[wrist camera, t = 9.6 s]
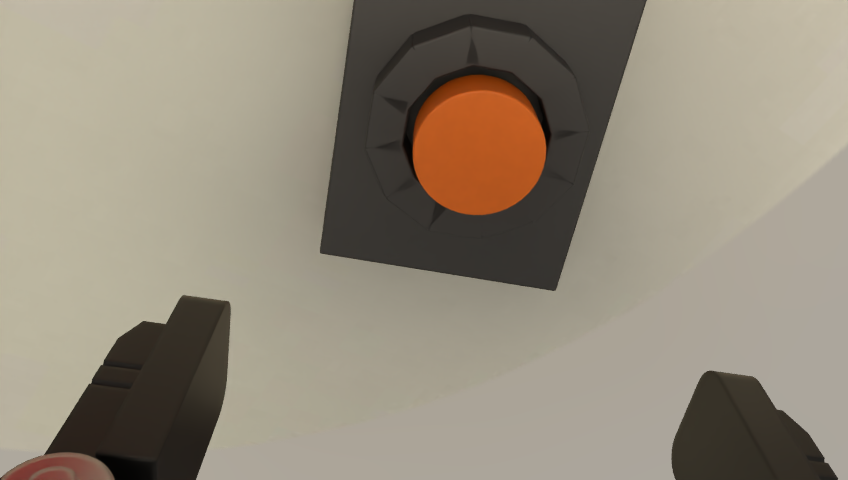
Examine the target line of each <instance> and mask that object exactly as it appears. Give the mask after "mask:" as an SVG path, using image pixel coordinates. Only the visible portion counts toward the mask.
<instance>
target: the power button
mask: <svg viewBox="0 0 848 480" xmlns="http://www.w3.org/2000/svg"><path fill="white" fill-rule="evenodd" d="M545 160H546V141H545V136H544V132H543V130H542V127H541V124H540V122H539V120H538V117H537V115H536V113H535V110H534V108H533V106H532V105H531V103H530V101H529V100H528V99H527V97H526V96H525V95H524V94H523V93H522V92H521V91H520V90H519V89H518V88H517V87H515V86H514V85H512V84H511V83H509V82H507V81H505V80H503V79H500V78H497V77H493V76H489V75H468V76H463V77H459V78H456V79H453V80H451V81H449V82H447V83H445V84H443V85H442V86H440V87H439V88H438V89H436V90H435V91H434V92H433V93H432V94H431V95H430V96H429V97H428V98H427V99H426V101H425V102H424V103H423V105H422V107H421V108H420V110H419V113H418V115H417V117H416V121H415V125H414V132H413V164H414V169H415V172H416V176H417V178H418V180H419V182H420V184H421V185H422V187H423V188H424V190H425V191H426V192H427V193H428V194H429V196H430V197H432V198H433V199H434V200H435V201H436V202H438V203H439V204H441V205H442V206H444V207H446V208H448V209H450V210H453V211H455V212H458V213H463V214H468V215H486V214H492V213H496V212H500V211H502V210H505V209H507V208H509V207H511V206H513V205H515V204H516V203H518V202H519V201H521V200H522V199H523V198H524V197H525V196H526V195H527V194H528V193H529V192H530V191H531V190H532V189H533V187H534V186H535V184H536V183H537V182H538V180H539V178H540V176H541V174H542V171H543V168H544V164H545Z"/></svg>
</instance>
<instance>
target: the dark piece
mask: <svg viewBox="0 0 848 480" xmlns="http://www.w3.org/2000/svg"><path fill="white" fill-rule="evenodd" d="M646 1H647V0H354V4H353V11H352V18H351V26H350V33H349V40H348V48H347V55H346V63H345V70H344V77H343V85H342V92H341V99H340V107H339V114H338V121H337V129H336V136H335V144H334V151H333V158H332V166H331V173H330V180H329V188H328V195H327V202H326V210H325V217H324V224H323V232H322V239H321V247H320V253H322V254H328V255H334V256H340V257H347V258H353V259H359V260H365V261H371V262H378V263H384V264H390V265H396V266H403V267H409V268H415V269H421V270H427V271H434V272H440V273H446V274H452V275H459V276H465V277H471V278H477V279H484V280H490V281H496V282H502V283H508V284H515V285H521V286H527V287H533V288H540V289H546V290H552V291H555V290H556V288H557V285H558V282H559V278H560V275H561V272H562V269H563V266H564V262H565V259H566V256H567V253H568V250H569V246H570V243H571V240H572V237H573V234H574V231H575V227H576V224H577V221H578V218H579V215H580V211H581V208H582V205H583V202H584V199H585V195H586V192H587V189H588V186H589V183H590V179H591V176H592V173H593V170H594V167H595V164H596V160H597V157H598V154H599V151H600V148H601V144H602V141H603V138H604V135H605V132H606V128H607V125H608V122H609V119H610V116H611V112H612V109H613V106H614V103H615V100H616V97H617V93H618V90H619V87H620V84H621V81H622V77H623V74H624V71H625V68H626V65H627V61H628V58H629V55H630V52H631V49H632V45H633V42H634V39H635V36H636V33H637V29H638V26H639V23H640V20H641V17H642V14H643V10H644V7H645V4H646ZM468 75H489V76H493V77H497V78H500V79H503V80H505V81H507V82H509V83H511V84H512V85H514V86H515V87H517V88H518V89H519V90H520V91H521V92H522V93H523V94H524V95H525V96H526V97H527V99H528V100H529V101H530V103H531V105H532V106H533V108H534V110H535V113H536V115H537V117H538V120H539V122H540V124H541V127H542V130H543V132H544V136H545V141H546V160H545V164H544V168H543V171H542V174H541V176H540V178H539V180H538V182H537V183H536V184H535V186H534V187H533V189H532V190H531V191H530V192H529V193H528V194H527V195H526V196H525V197H524V198H523V199H522V200H521V201H519V202H518V203H516V204H515V205H513V206H511V207H509V208H507V209H505V210H502V211H500V212H496V213H492V214H486V215H468V214H463V213H458V212H455V211H453V210H450V209H448V208H446V207H444V206H442V205H441V204H439V203H438V202H436V201H435V200H434V199H433V198H432V197H430V196H429V194H428V193H427V192H426V191H425V190H424V188H423V187H422V185H421V184H420V182H419V180H418V178H417V176H416V172H415V169H414V164H413V132H414V125H415V121H416V117H417V115H418V113H419V110H420V108H421V107H422V105H423V103H424V102H425V101H426V99H427V98H428V97H429V96H430V95H431V94H432V93H433V92H434V91H435V90H436V89H438V88H439V87H440V86H442V85H443V84H445V83H447V82H449V81H451V80H453V79H456V78H459V77H463V76H468Z"/></svg>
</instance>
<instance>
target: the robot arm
mask: <svg viewBox="0 0 848 480" xmlns="http://www.w3.org/2000/svg"><path fill="white" fill-rule="evenodd" d="M230 316H231V307H230V303H229V302H228V301H221V300H214V299H207V298H200V297H193V296H186V295H183V296H182V297H181V298H180V300H179V301H178V303H177V305H176V307H175V309H174V310H173V312H172V314H171V316H170V318H169V319H168V321H167V323H166V324H161V323H153V322H146V321H143V322H141V323H140V324H139V325H137V326H136V327H134V328H133V329H131V330H130V331H128V332H127V333H125V334H124V335H122V336H121V337H119V338H118V339H117V341H116V342H115V344H114V345H113V347H112V349H111V350H110V352H109V353H108V355H107V357H106V358H105V360H104V363H103V365H101V366H100V368H99V369H98V371H97V372H96V374H95V375H94V377H93V379H92V383H91V384H89V385H88V387H87V388H86V390H85V391H84V393H83V394H82V396H81V398H80V399H79V401H78V402H77V404H76V406H75V407H74V409H73V410H72V412H71V413H70V415H69V417H68V418H67V420H66V421H65V423H64V424H63V426H62V428H61V429H60V431H59V432H58V434H57V436H56V437H55V439H54V440H53V442H52V443H51V445H50V447H49V448H48V450H47V451H46V453H45V454H44V455H43V456H39V457H36V458H33V459H30V460H27V461H25V462H23V463H21V464H19V465H17V466H16V467H14V468H13V469H11V470H10V471H8V472H7V473H6V474H5V475H3V476H2V477H1V478H0V480H196V478H197V475H198V472H199V469H200V467H201V464H202V461H203V458H204V456H205V453H206V450H207V448H208V445H209V442H210V440H211V437H212V434H213V431H214V429H215V426H216V423H217V420H218V418H219V415H220V412H221V408H222V404H223V400H224V395H225V389H226V382H227V369H228V351H229V333H230ZM672 468H673V473H674V476H675V479H676V480H838V478H837V476H836V475H835V473H834V472H833V470H832V469H831V467H830V466H829V464H828V463H824V457H823V455H822V454H821V452H820V451H819V449H818V447H817V446H816V444H815V443H814V442H813V440H812V438H811V437H810V435H809V434H808V433H807V432H806V431H805V430H804V429H803V428H801V427H800V426H799V425H798V424H797V423H796V422H795V421H794V420H793V419H791V418H790V417H789V416H788V415H787V414H786V413H785V412H783V411H782V410H777V409H776V408H775V406H774V405H773V403H772V402H771V400H770V398H769V397H768V395H767V394H766V392H765V390H764V389H763V387H762V386H761V384H760V383H759V381H758V380H757V379H756V378H754V377H752V376H745V375H737V374H730V373H723V372H716V371H707V372H706V373H704V374H703V375H702V377H701V378H700V380H699V382H698V384H697V387H696V389H695V391H694V394H693V396H692V399H691V401H690V403H689V405H688V408H687V410H686V413H685V415H684V417H683V419H682V422H681V424H680V426H679V429H678V431H677V433H676V436H675V439H674V442H673V447H672Z"/></svg>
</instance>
